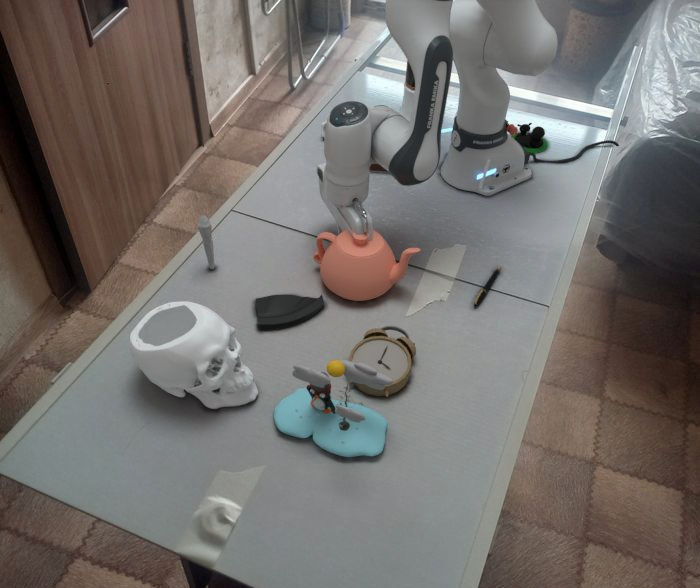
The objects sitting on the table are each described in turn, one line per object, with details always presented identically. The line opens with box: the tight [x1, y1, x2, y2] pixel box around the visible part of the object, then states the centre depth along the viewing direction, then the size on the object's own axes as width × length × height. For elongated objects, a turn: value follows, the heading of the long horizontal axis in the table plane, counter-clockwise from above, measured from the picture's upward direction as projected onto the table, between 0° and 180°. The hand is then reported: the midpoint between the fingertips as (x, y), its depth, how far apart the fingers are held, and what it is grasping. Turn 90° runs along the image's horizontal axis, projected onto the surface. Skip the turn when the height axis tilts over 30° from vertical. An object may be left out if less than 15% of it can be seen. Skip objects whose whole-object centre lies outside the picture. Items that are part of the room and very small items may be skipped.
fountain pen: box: [473, 265, 501, 308], centre depth 135 cm, size 14×1×2 cm, turn 150°
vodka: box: [399, 59, 415, 122], centre depth 166 cm, size 9×9×30 cm
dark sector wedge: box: [255, 293, 325, 331], centre depth 129 cm, size 8×14×2 cm, turn 100°
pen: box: [197, 214, 216, 270], centre depth 132 cm, size 2×3×14 cm
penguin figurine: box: [273, 358, 393, 458], centre depth 107 cm, size 20×11×15 cm, turn 66°
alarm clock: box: [348, 325, 417, 398], centre depth 120 cm, size 11×5×15 cm
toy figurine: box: [510, 122, 549, 154], centre depth 170 cm, size 10×10×6 cm
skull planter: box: [129, 300, 259, 410], centre depth 114 cm, size 14×20×19 cm
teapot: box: [312, 229, 421, 302], centre depth 131 cm, size 22×16×12 cm
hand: (344, 240), depth 140 cm, fingers closed
